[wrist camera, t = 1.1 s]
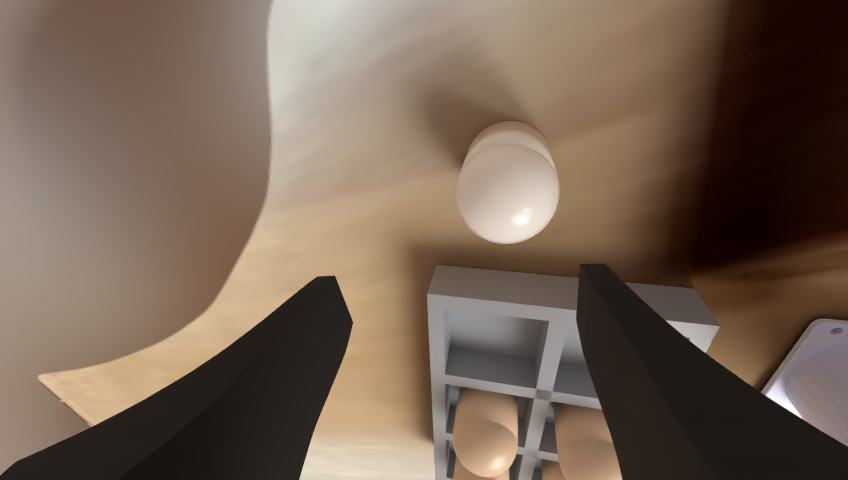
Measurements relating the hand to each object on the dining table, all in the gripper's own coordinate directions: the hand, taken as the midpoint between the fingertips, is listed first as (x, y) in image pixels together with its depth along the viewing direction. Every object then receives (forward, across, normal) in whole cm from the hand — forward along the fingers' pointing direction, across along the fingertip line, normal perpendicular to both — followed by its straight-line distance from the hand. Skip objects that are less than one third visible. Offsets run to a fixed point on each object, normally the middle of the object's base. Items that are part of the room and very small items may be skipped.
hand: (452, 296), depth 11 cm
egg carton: (+10, -3, +18) cm, 21 cm away
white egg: (+10, -2, 0) cm, 11 cm away
